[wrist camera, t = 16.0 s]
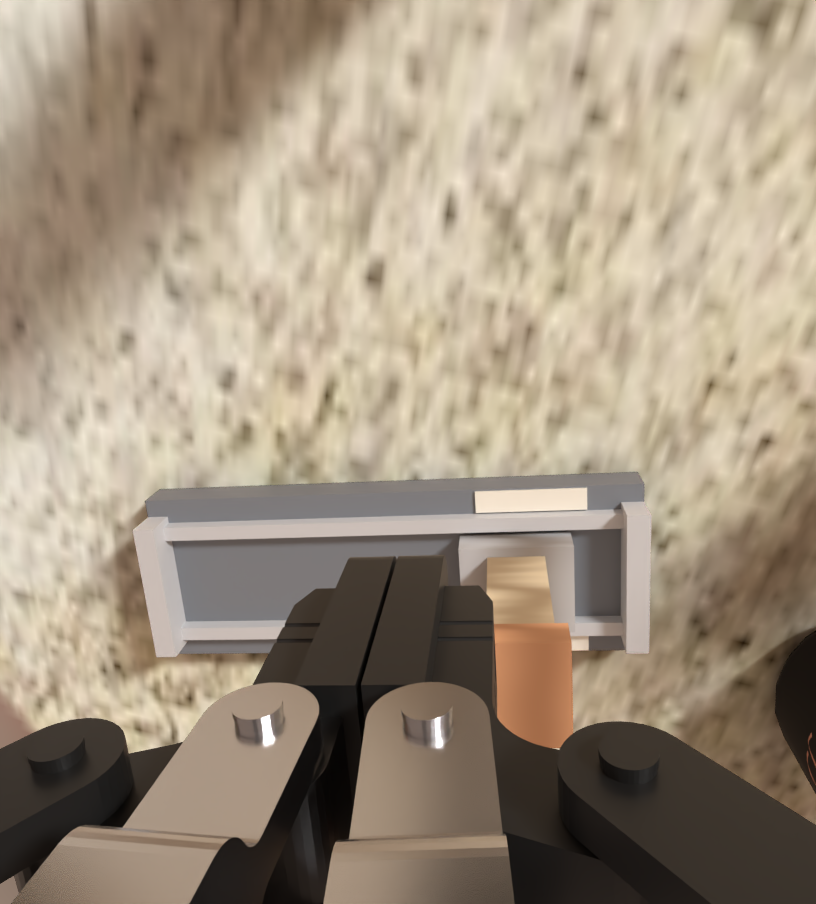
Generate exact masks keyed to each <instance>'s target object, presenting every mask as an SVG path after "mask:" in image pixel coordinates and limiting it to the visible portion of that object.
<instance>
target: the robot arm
mask: <svg viewBox="0 0 816 904" xmlns="http://www.w3.org/2000/svg"><path fill="white" fill-rule="evenodd" d="M12 876H14V877H15V881H16V884H17V888H18V892H19V894H18V895H17V897H16V898H15V899H14V900H13V902H12V903H11V904H816V825H815V824H813V823H812V822H810V821H808V820H807V819H805V818H804V817H802V816H800V815H799V814H797V813H796V812H794V811H792V810H791V809H789V808H788V807H786V806H784V805H783V804H781V803H780V802H778V801H776V800H775V799H773V798H772V797H770V796H768V795H767V794H765V793H764V792H762V791H760V790H759V789H757V788H756V787H754V786H752V785H751V784H749V783H748V782H746V781H744V780H743V779H741V778H740V777H738V776H736V775H735V774H733V773H732V772H730V771H728V770H727V769H725V768H724V767H722V766H720V765H719V764H717V763H716V762H714V761H712V760H711V759H709V758H708V757H706V756H705V755H703V754H701V753H700V752H698V751H697V750H695V749H693V748H692V747H690V746H689V745H687V744H685V743H684V742H682V741H681V740H679V739H677V738H676V737H674V736H672V735H670V734H668V733H667V732H664V731H662V730H659V729H657V728H654V727H651V726H647V725H644V724H638V723H633V722H604V723H597V724H594V725H590V726H587V727H585V728H582V729H580V730H578V731H576V732H575V733H573V734H572V735H570V736H569V737H568V738H567V739H566V740H565V741H564V743H563V744H562V746H561V747H560V750H556V749H552V748H548V747H544V746H541V745H537V744H534V743H531V742H529V741H526V740H524V739H522V738H520V737H518V736H517V735H515V734H513V733H512V732H511V731H509V730H508V729H507V728H506V727H505V726H504V725H503V724H502V723H501V722H500V721H499V719H498V718H497V675H496V655H495V634H494V613H493V601H492V600H491V599H490V597H489V596H488V595H487V594H486V593H485V592H484V590H483V589H482V588H481V587H480V586H479V585H472V586H448V573H447V562H446V557H445V555H422V556H398V558H396V556H386V557H350V558H349V559H348V560H347V563H346V565H345V567H344V570H343V572H342V574H341V576H340V579H339V581H338V583H337V586H336V588H320V589H315V590H313V591H312V592H311V593H309V594H308V595H307V596H305V597H304V598H303V599H302V600H300V601H299V602H298V603H296V604H295V605H294V607H293V609H292V611H291V612H290V614H289V616H288V618H287V620H286V622H285V627H283V628H282V630H281V632H280V634H279V636H278V637H277V643H274V645H273V647H272V649H271V651H270V653H269V655H268V657H267V659H266V660H265V662H264V664H263V666H262V668H261V670H260V672H259V674H258V676H257V678H256V680H255V682H254V683H253V685H251V686H248V687H244V688H241V689H238V690H236V691H233V692H231V693H229V694H227V695H225V696H223V697H222V698H220V699H219V700H217V701H216V702H214V703H213V704H212V705H211V706H210V707H209V708H208V709H207V710H206V711H205V712H204V714H203V715H202V716H201V718H200V719H199V720H198V722H197V723H196V725H195V726H194V728H193V729H192V730H191V732H190V733H189V735H188V736H187V737H186V739H185V740H184V742H181V743H177V744H173V745H169V746H164V747H159V748H154V749H149V750H145V751H140V752H135V753H130V754H129V753H128V748H127V744H126V739H125V735H124V733H123V730H122V729H121V728H120V727H119V726H118V725H116V724H115V723H113V722H110V721H108V720H103V719H96V718H84V719H75V720H69V721H65V722H61V723H57V724H54V725H51V726H48V727H45V728H43V729H41V730H39V731H36V732H34V733H32V734H30V735H28V736H26V737H24V738H22V739H20V740H18V741H16V742H14V743H12V744H9V745H7V746H5V747H3V748H1V749H0V884H1V883H2V882H4V881H5V880H7V879H9V878H11V877H12Z"/></svg>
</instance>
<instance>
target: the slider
mask: <svg viewBox="0 0 816 904" xmlns="http://www.w3.org/2000/svg"><path fill="white" fill-rule="evenodd" d="M458 551H459V567H460V584H461V586H472V585H479V586H480V587H481V588H482V589H483V590H484V592H485V593H486V594H487V595H488V596H489V597H490V599H491V600H492V601H493V613H494V634H495V655H496V675H497V718H498V719H499V721H500V722H501V723H502V724H503V725H504V726H505V727H506V728H507V729H508V730H509V731H511V732H512V733H513V734H515V735H517V736H518V737H520V738H522V739H524V740H526V741H529V742H531V743H534V744H537V745H541V746H544V747H548V748H560V747H561V746H562V744H563V743H564V741H565V740H566V739H567V738H568V737H569V736H570V735H572V734H573V693H572V642H571V636H570V632H575V582H574V545H573V540H572V536H571V532H540V533H503V534H466V535H460V540H459V549H458Z"/></svg>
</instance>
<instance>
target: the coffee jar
mask: <svg viewBox="0 0 816 904" xmlns="http://www.w3.org/2000/svg"><path fill="white" fill-rule="evenodd" d="M775 713H776V716H777V719H778V722H779V725H780V727H781V730H782V733H783V736H784V737H785V739H786V741H787V743H788V745H789V746H790V748H791V750H792V752H793V754H794V755H795V757H796V759H797V761H798V763H799V764H800V766H801V768H802V770H803V772H804V773H805V775H806V777H807V779H808V781H809V782H810V784H811V786H812V788H813V790H814V791H815V793H816V631H815V632H814V633H812V634H810V635H809V636H807V637H806V638H805V639H804V640H803V641H802V642H801V643H800V644H799V646H798V647H797V648H796V649H795V650H794V651H793V652H792V653H791V655H790V656H789V658H788V659H787V661H786V663H785V665H784V668H783V670H782V672H781V675H780V677H779V679H778V682H777V685H776V704H775Z"/></svg>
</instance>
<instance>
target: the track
mask: <svg viewBox="0 0 816 904" xmlns="http://www.w3.org/2000/svg"><path fill="white" fill-rule="evenodd" d="M145 503H146V509H147V514H148V518H146V519H145V520H144V521H143V522H142V523H141V524H139V525H138V526H137V527H136V528H135V529H134V530H133V536H134V541H135V546H136V551H137V557H138V562H139V567H140V572H141V578H142V583H143V588H144V594H145V599H146V604H147V609H148V615H149V620H150V625H151V631H152V636H153V641H154V646H155V652H156V657H176V656H177V655H178V654H217V653H270V651H271V649H272V647H273V645H274V643H277V637H278V636H279V634H280V632H281V630H282V628H283V627H285V622H286V620H287V618H288V616H289V614H290V612H291V611H292V609H293V607H294V605H295V604H296V603H298V602H299V601H300V600H302V599H303V598H304V597H305V596H307V595H308V594H309V593H311V592H312V591H313V590H315V589H320V588H336V586H337V583H338V581H339V579H340V576H341V574H342V572H343V570H344V567H345V565H346V563H347V560H348V559H349V558H350V557H386V556H396V558H398V556H422V555H445V557H446V562H447V573H448V586H461V584H460V567H459V551H458V549H459V540H460V535H466V534H503V533H540V532H571V536H572V540H573V545H574V582H575V632H570V636H571V642H572V651H585V650H625V651H626V654H642V653H649V634H650V569H651V514H650V512H649V510H648V508H647V506H646V504H645V502H644V482H643V481H642V479H641V477H640V475H639V473H638V472H626V473H598V474H571V475H543V476H516V477H488V478H461V479H433V480H406V481H378V482H351V483H323V484H296V485H268V486H241V487H213V488H186V489H159V490H158V491H157V492H156V493H154V494H153V495H152V496H151V497H149V498H148V499H147V500H146V501H145Z"/></svg>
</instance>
